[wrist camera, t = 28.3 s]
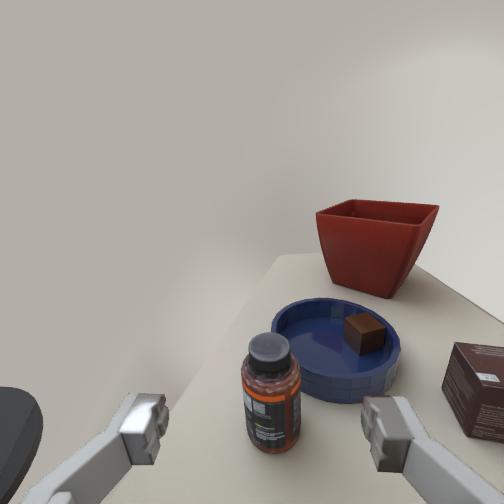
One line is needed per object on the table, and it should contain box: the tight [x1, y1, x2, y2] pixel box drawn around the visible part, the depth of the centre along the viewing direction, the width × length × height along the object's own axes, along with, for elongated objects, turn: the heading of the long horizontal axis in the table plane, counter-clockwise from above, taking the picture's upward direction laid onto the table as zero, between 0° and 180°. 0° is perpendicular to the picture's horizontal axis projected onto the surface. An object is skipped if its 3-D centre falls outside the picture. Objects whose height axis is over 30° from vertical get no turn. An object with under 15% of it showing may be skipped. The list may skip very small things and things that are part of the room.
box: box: [442, 342, 504, 443], centre depth 26 cm, size 6×6×7 cm
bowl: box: [271, 298, 401, 404], centre depth 38 cm, size 18×18×4 cm
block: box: [343, 312, 386, 356], centre depth 38 cm, size 4×4×4 cm
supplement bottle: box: [241, 332, 301, 453], centre depth 26 cm, size 6×6×11 cm
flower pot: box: [316, 199, 439, 299], centre depth 55 cm, size 19×19×17 cm
